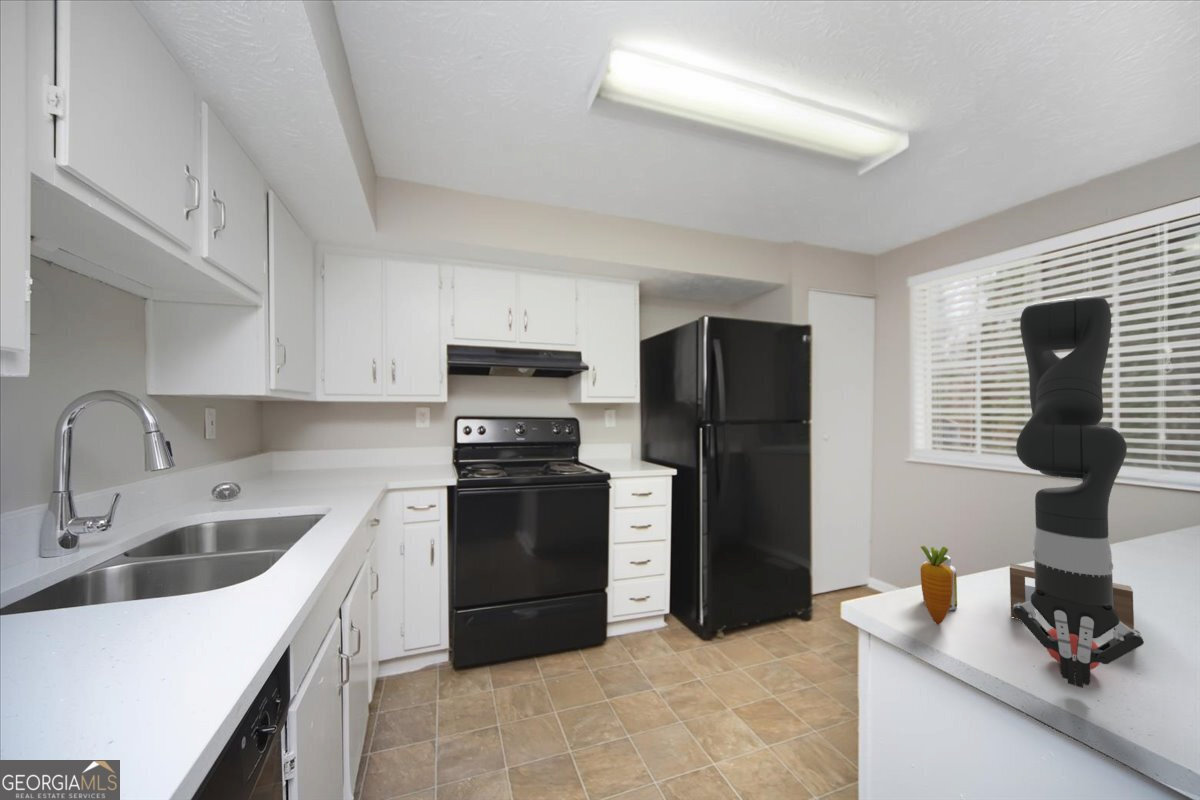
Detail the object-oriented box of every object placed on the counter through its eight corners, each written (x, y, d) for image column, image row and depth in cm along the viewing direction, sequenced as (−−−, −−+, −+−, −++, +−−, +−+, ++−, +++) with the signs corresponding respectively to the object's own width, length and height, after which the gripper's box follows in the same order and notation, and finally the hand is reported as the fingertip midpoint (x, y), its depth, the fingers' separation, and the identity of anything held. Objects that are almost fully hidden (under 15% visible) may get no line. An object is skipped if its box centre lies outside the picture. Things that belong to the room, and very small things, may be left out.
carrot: (915, 620, 82) (913, 543, 82) (932, 615, 83) (930, 539, 84) (943, 633, 77) (941, 551, 77) (961, 628, 79) (959, 547, 79)
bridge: (1011, 612, 84) (1010, 563, 84) (1132, 641, 73) (1130, 585, 74) (1010, 617, 82) (1009, 567, 82) (1134, 648, 71) (1132, 591, 71)
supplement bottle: (940, 598, 91) (938, 550, 91) (964, 610, 85) (963, 559, 85) (916, 599, 90) (915, 551, 90) (939, 612, 85) (938, 561, 85)
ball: (1044, 651, 71) (1043, 615, 71) (1099, 667, 67) (1098, 629, 67) (1044, 667, 67) (1043, 629, 67) (1103, 685, 63) (1102, 644, 63)
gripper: (1141, 567, 59) (1145, 693, 58) (1009, 545, 68) (1012, 653, 68) (1150, 584, 54) (1155, 721, 53) (1006, 557, 63) (1009, 674, 63)
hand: (1074, 683), depth 61 cm, fingers closed
